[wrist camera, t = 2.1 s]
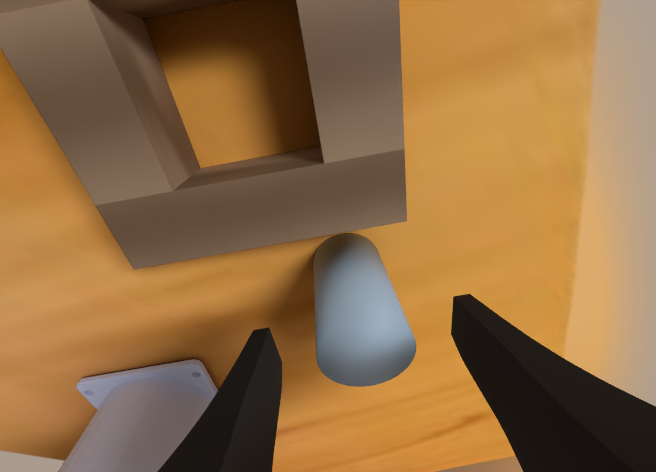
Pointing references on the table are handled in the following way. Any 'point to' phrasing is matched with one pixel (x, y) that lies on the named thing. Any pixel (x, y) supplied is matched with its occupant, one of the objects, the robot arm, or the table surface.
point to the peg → (358, 314)
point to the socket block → (173, 142)
